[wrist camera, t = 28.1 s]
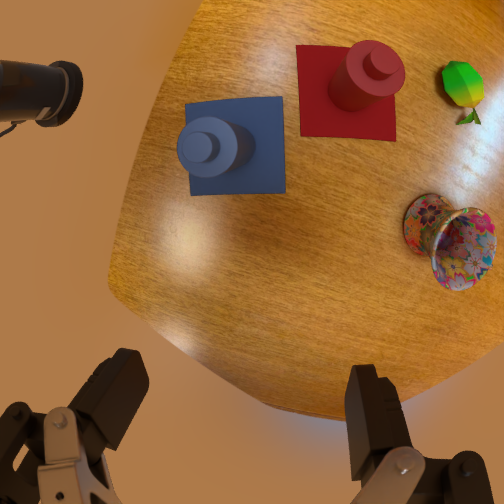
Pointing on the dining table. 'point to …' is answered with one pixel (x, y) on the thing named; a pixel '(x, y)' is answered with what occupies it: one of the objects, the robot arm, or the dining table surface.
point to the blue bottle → (214, 146)
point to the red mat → (325, 111)
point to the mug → (451, 240)
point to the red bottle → (366, 76)
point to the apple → (463, 87)
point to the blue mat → (266, 146)
